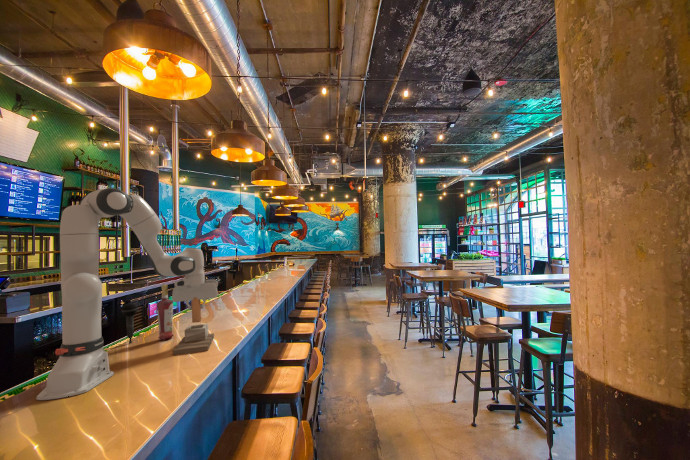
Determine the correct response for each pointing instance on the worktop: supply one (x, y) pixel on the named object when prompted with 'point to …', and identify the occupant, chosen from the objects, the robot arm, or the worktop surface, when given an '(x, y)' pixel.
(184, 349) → the well board
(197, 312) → the peg
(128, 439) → the worktop surface
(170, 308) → the liquor
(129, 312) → the microphone
